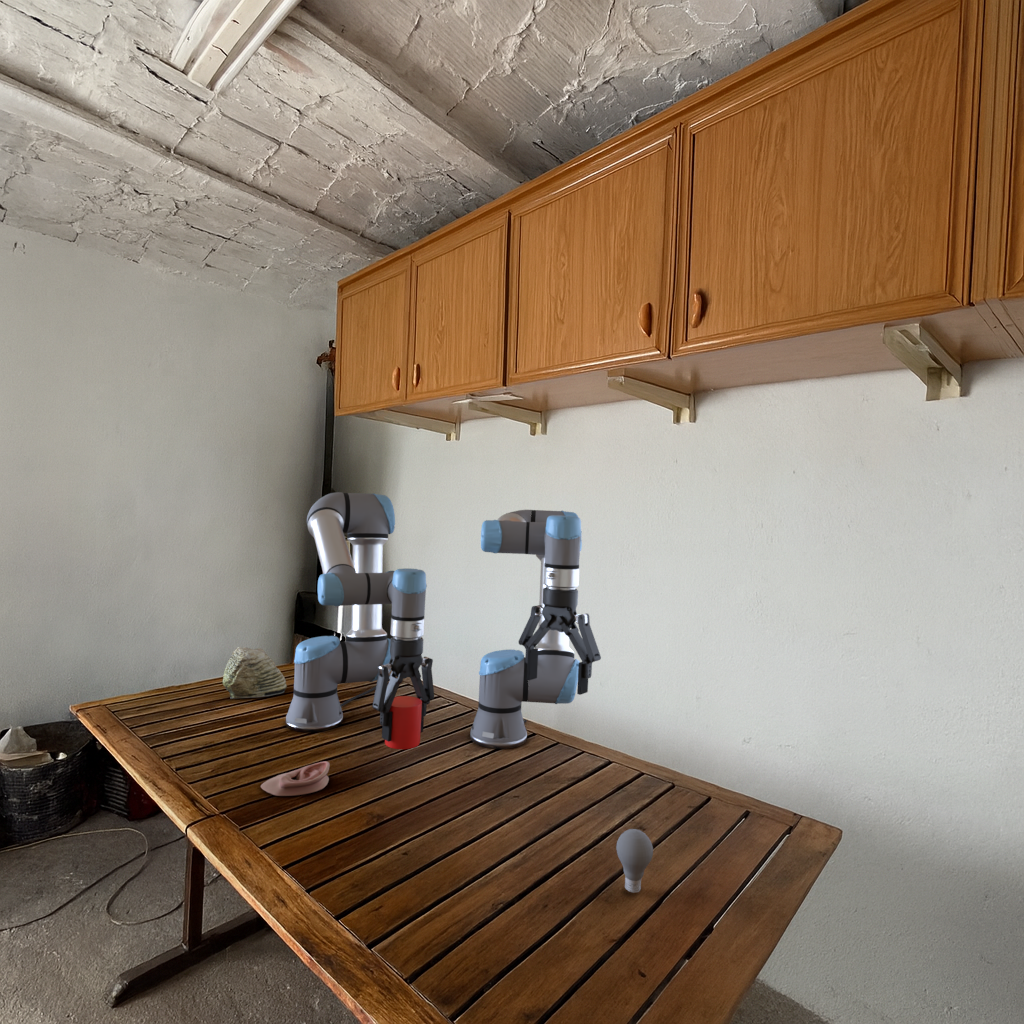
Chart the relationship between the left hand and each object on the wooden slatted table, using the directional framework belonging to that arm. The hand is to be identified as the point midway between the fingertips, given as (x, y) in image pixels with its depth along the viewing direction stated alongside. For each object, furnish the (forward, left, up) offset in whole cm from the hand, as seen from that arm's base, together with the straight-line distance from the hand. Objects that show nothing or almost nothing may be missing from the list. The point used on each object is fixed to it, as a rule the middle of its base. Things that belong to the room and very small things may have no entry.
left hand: (402, 734), depth 146 cm
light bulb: (+3, +61, -9) cm, 62 cm away
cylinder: (0, 0, -2) cm, 2 cm away
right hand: (-14, +32, +16) cm, 39 cm away
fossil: (-6, -76, -9) cm, 76 cm away
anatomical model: (+20, -12, -9) cm, 25 cm away
